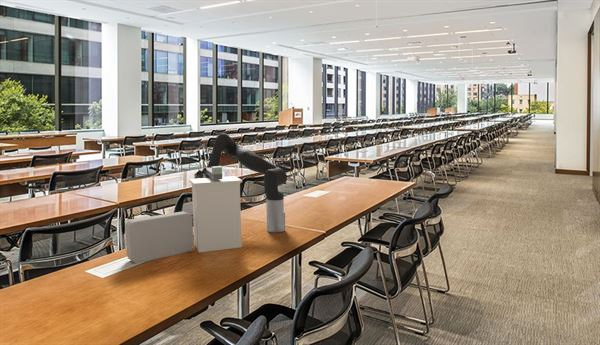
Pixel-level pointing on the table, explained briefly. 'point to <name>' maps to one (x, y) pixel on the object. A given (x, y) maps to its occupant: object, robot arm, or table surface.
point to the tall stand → (216, 213)
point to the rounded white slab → (158, 236)
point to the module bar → (214, 172)
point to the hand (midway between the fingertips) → (210, 168)
